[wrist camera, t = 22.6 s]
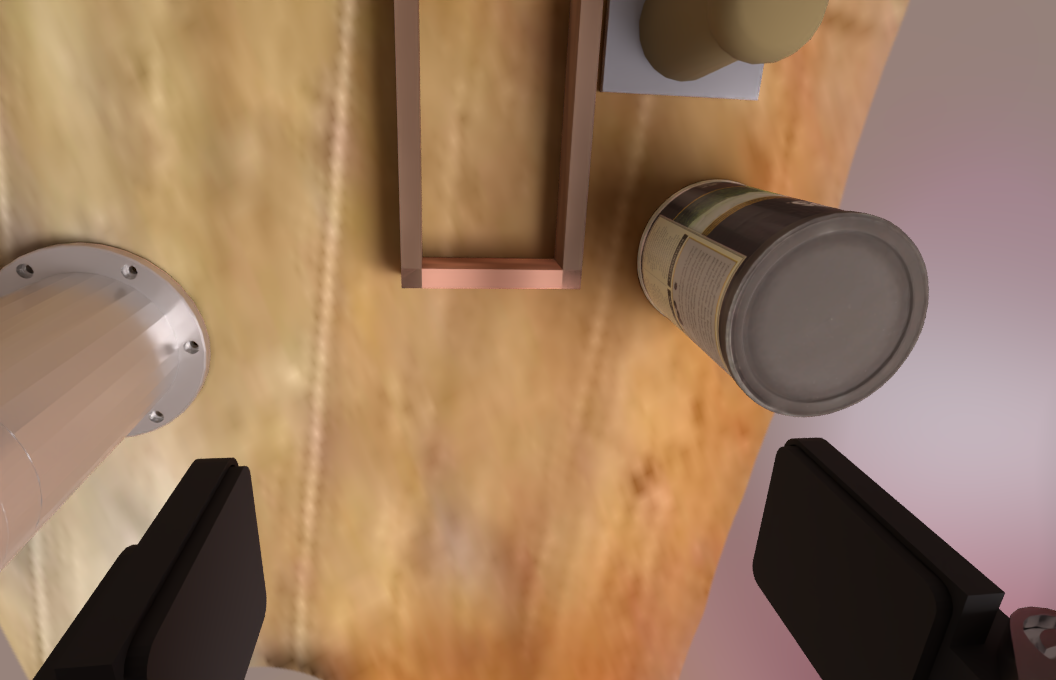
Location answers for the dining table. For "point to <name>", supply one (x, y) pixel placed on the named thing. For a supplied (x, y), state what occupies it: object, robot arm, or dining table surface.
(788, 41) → the tan hourglass shape
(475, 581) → the dining table surface
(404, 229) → the brown u-shaped frame
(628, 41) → the coaster
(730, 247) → the coffee can
